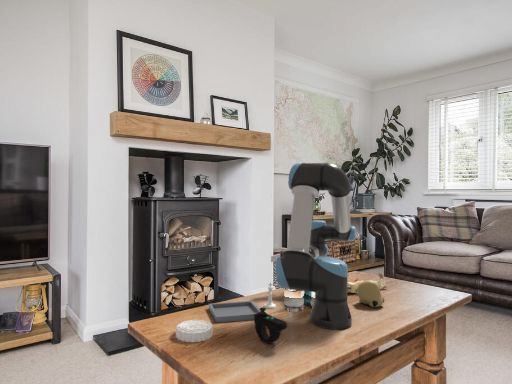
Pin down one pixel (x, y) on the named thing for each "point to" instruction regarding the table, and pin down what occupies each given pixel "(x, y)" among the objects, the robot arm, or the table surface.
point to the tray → (233, 311)
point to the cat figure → (354, 285)
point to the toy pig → (369, 293)
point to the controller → (268, 326)
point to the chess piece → (270, 299)
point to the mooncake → (194, 330)
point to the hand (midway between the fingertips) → (284, 261)
